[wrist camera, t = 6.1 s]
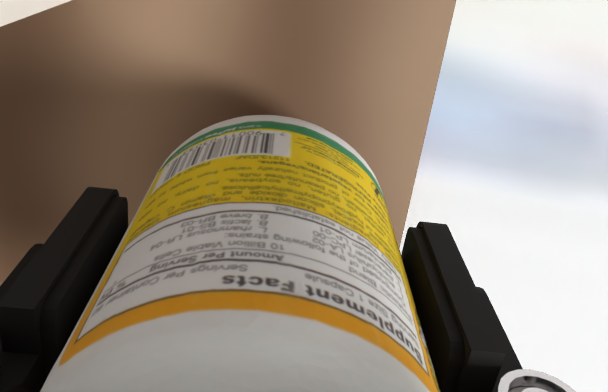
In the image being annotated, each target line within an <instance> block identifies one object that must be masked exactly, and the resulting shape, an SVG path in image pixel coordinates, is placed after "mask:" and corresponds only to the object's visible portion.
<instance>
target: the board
mask: <svg viewBox="0 0 608 392" xmlns="http://www.w3.org/2000/svg"><path fill="white" fill-rule="evenodd" d="M455 4H456V0H71V1H69V2H66V3H63V4H61V5H58V6H55V7H52V8H50V9H47V10H44V11H42V12H39V13H36V14H34V15H31V16H28V17H25V18H23V19H20V20H17V21H15V22H12V23H9V24H7V25H4V26H1V27H0V286H1V285H2V283H3V282H4V281H5V280H6V278H7V277H8V276H9V275H10V273H11V272H12V271H13V270H14V268H15V267H16V266H17V265H18V263H19V262H20V261H21V260H22V258H23V257H24V256H25V254H26V253H27V252H28V251H29V249H30V248H31V247H32V246H34V245H35V244H38V243H41V244H44V243H45V242H46V240H47V239H48V238H49V236H50V235H51V234H52V233H53V231H54V230H55V229H56V227H57V226H58V225H59V224H60V222H61V221H62V220H63V218H64V217H65V216H66V214H67V213H68V212H69V211H70V209H71V208H72V207H73V205H74V204H75V203H76V201H77V200H78V199H79V198H80V196H81V195H82V194H83V192H84V191H85V190H86V188H88V187H99V188H108V189H117V190H118V193H119V197H126V198H127V201H128V227H129V225H130V223H131V221H132V219H133V218H134V216H135V214H136V212H137V210H138V208H139V206H140V204H141V203H142V201H143V199H144V197H145V195H146V193H147V191H148V189H149V188H150V186H151V184H152V182H153V180H154V178H155V176H156V174H157V172H158V171H159V169H160V168H161V166H162V165H163V163H164V162H165V160H166V159H167V158H168V157H169V156H170V155H171V153H172V152H173V151H174V150H176V149H177V148H178V147H179V146H180V145H181V144H182V143H183V142H185V141H186V140H187V139H189V138H190V137H191V136H193V135H194V134H196V133H198V132H199V131H201V130H202V129H205V128H207V127H209V126H211V125H214V124H216V123H219V122H222V121H225V120H229V119H233V118H237V117H242V116H251V115H276V116H285V117H291V118H296V119H300V120H304V121H307V122H310V123H312V124H315V125H317V126H320V127H322V128H324V129H325V130H327V131H329V132H331V133H333V134H335V135H336V136H338V137H339V138H341V139H342V140H344V141H345V142H346V143H347V144H349V145H350V146H351V147H352V148H354V149H355V150H356V152H357V153H358V154H359V155H360V156H361V157H362V158H363V159H364V160H365V161H366V163H367V164H368V166H369V167H370V168H371V170H372V171H373V173H374V175H375V177H376V179H377V181H378V184H379V186H380V188H381V191H382V194H383V197H384V200H385V202H386V206H387V210H388V213H389V217H390V220H391V223H392V227H393V230H394V234H395V237H396V240H397V243H398V246H399V247H400V243H401V238H402V234H403V230H404V225H405V221H406V217H407V212H408V208H409V204H410V199H411V195H412V191H413V186H414V182H415V178H416V173H417V169H418V165H419V160H420V156H421V151H422V147H423V143H424V138H425V134H426V130H427V125H428V121H429V117H430V112H431V108H432V104H433V99H434V95H435V91H436V86H437V82H438V77H439V73H440V69H441V64H442V60H443V56H444V51H445V47H446V43H447V38H448V34H449V30H450V25H451V21H452V17H453V12H454V8H455Z"/></svg>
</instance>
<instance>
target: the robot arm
mask: <svg viewBox="0 0 608 392" xmlns="http://www.w3.org/2000/svg"><path fill="white" fill-rule="evenodd" d="M127 229H128V201H127V198H126V197H119V193H118V190H117V189H108V188H99V187H88V188H86V190H85V191H84V192H83V194H82V195H81V196H80V198H79V199H78V200H77V201H76V203H75V204H74V205H73V207H72V208H71V209H70V211H69V212H68V213H67V214H66V216H65V217H64V218H63V220H62V221H61V222H60V224H59V225H58V226H57V227H56V229H55V230H54V231H53V233H52V234H51V235H50V236H49V238H48V239H47V240H46V242H45V243H44V244H41V243H38V244H35V245H34V246H32V247H31V248H30V249H29V251H28V252H27V253H26V254H25V256H24V257H23V258H22V260H21V261H20V262H19V263H18V265H17V266H16V267H15V268H14V270H13V271H12V272H11V273H10V275H9V276H8V277H7V278H6V280H5V281H4V282H3V283H2V285H1V286H0V392H40V391H41V389H42V387H43V385H44V383H45V381H46V379H47V377H48V375H49V373H50V371H51V370H52V368H53V366H54V364H55V362H56V361H57V359H58V357H59V355H60V354H61V352H62V350H63V348H64V346H65V345H66V343H67V341H68V339H69V337H70V335H71V333H72V332H73V330H74V328H75V326H76V324H77V322H78V320H79V319H80V317H81V315H82V313H83V311H84V309H85V307H86V306H87V304H88V302H89V300H90V298H91V296H92V294H93V293H94V291H95V289H96V287H97V285H98V283H99V281H100V279H101V278H102V276H103V274H104V272H105V270H106V268H107V266H108V264H109V263H110V261H111V259H112V257H113V255H114V253H115V251H116V249H117V248H118V246H119V244H120V242H121V240H122V238H123V236H124V234H125V233H126V231H127ZM401 257H402V261H403V265H404V268H405V272H406V275H407V278H408V282H409V285H410V289H411V293H412V296H413V300H414V303H415V306H416V311H417V315H418V318H419V320H420V324H421V328H422V332H423V335H424V338H425V341H426V344H427V348H428V351H429V355H430V358H431V362H432V365H433V368H434V371H435V375H436V379H437V382H438V386H439V390H440V392H575V391H574V390H573V389H572V388H571V387H570V386H568V385H567V384H565V383H564V382H562V381H560V380H559V379H557V378H555V377H553V376H550V375H548V374H546V373H543V372H539V371H534V370H523V369H522V367H521V365H520V362H519V360H518V358H517V356H516V354H515V352H514V350H513V348H512V346H511V344H510V342H509V340H508V338H507V335H506V333H505V331H504V329H503V327H502V325H501V323H500V321H499V319H498V317H497V315H496V313H495V310H494V308H493V306H492V304H491V302H490V300H489V298H488V296H487V294H486V292H485V291H484V289H482V288H480V287H475V285H474V282H473V280H472V278H471V276H470V274H469V272H468V269H467V267H466V265H465V263H464V261H463V259H462V256H461V254H460V252H459V250H458V248H457V246H456V243H455V241H454V239H453V237H452V235H451V232H450V230H449V228H448V226H447V225H446V224H438V223H429V222H419V223H418V225H417V227H416V228H413V227H409V229H408V231H407V234H406V238H405V242H404V247H403V251H402V255H401Z"/></svg>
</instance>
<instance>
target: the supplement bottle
mask: <svg viewBox="0 0 608 392" xmlns="http://www.w3.org/2000/svg"><path fill="white" fill-rule="evenodd" d="M40 392H440V390H439V386H438V382H437V379H436V375H435V371H434V368H433V365H432V362H431V358H430V355H429V351H428V348H427V344H426V341H425V338H424V335H423V332H422V328H421V324H420V320H419V318H418V315H417V311H416V306H415V303H414V300H413V296H412V293H411V289H410V285H409V282H408V278H407V275H406V272H405V268H404V265H403V261H402V257H401V253H400V250H399V246H398V243H397V240H396V237H395V234H394V230H393V227H392V223H391V220H390V217H389V213H388V210H387V206H386V202H385V200H384V197H383V194H382V191H381V188H380V186H379V184H378V181H377V179H376V177H375V175H374V173H373V171H372V170H371V168H370V167H369V166H368V164H367V163H366V161H365V160H364V159H363V158H362V157H361V156H360V155H359V154H358V153H357V152H356V150H355V149H354V148H352V147H351V146H350V145H349V144H347V143H346V142H345V141H344V140H342V139H341V138H339V137H338V136H336V135H335V134H333V133H331V132H329V131H327V130H325V129H324V128H322V127H320V126H317V125H315V124H312V123H310V122H307V121H304V120H300V119H296V118H291V117H285V116H276V115H251V116H242V117H237V118H233V119H229V120H225V121H222V122H219V123H216V124H214V125H211V126H209V127H207V128H205V129H202V130H201V131H199V132H198V133H196V134H194V135H193V136H191V137H190V138H189V139H187V140H186V141H185V142H183V143H182V144H181V145H180V146H179V147H178V148H177V149H176V150H174V151H173V152H172V153H171V155H170V156H169V157H168V158H167V159H166V160H165V162H164V163H163V165H162V166H161V168H160V169H159V171H158V172H157V174H156V176H155V178H154V180H153V182H152V184H151V186H150V188H149V189H148V191H147V193H146V195H145V197H144V199H143V201H142V203H141V204H140V206H139V208H138V210H137V212H136V214H135V216H134V218H133V219H132V221H131V223H130V225H129V227H128V229H127V231H126V233H125V234H124V236H123V238H122V240H121V242H120V244H119V246H118V248H117V249H116V251H115V253H114V255H113V257H112V259H111V261H110V263H109V264H108V266H107V268H106V270H105V272H104V274H103V276H102V278H101V279H100V281H99V283H98V285H97V287H96V289H95V291H94V293H93V294H92V296H91V298H90V300H89V302H88V304H87V306H86V307H85V309H84V311H83V313H82V315H81V317H80V319H79V320H78V322H77V324H76V326H75V328H74V330H73V332H72V333H71V335H70V337H69V339H68V341H67V343H66V345H65V346H64V348H63V350H62V352H61V354H60V355H59V357H58V359H57V361H56V362H55V364H54V366H53V368H52V370H51V371H50V373H49V375H48V377H47V379H46V381H45V383H44V385H43V387H42V389H41V391H40Z"/></svg>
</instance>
